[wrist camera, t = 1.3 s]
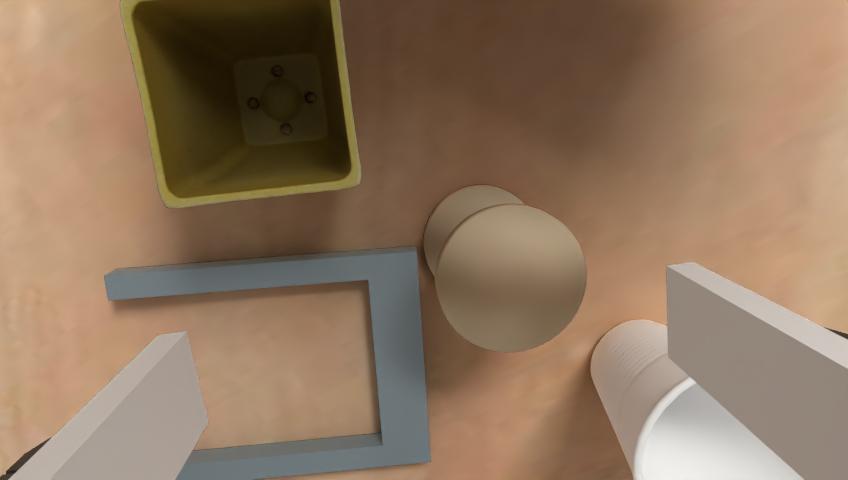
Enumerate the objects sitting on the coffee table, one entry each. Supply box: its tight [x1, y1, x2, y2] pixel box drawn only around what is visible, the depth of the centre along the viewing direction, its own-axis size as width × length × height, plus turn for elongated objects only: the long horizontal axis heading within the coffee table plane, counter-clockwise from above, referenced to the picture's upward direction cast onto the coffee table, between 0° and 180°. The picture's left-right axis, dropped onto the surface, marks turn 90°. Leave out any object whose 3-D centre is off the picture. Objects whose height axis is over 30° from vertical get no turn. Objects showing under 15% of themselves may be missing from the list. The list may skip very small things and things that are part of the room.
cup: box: [591, 319, 804, 480], centre depth 31 cm, size 10×10×11 cm
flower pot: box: [120, 0, 362, 209], centre depth 27 cm, size 9×9×9 cm
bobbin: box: [423, 185, 587, 352], centre depth 30 cm, size 7×7×9 cm
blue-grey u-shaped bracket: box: [104, 246, 431, 480], centre depth 34 cm, size 18×14×2 cm
